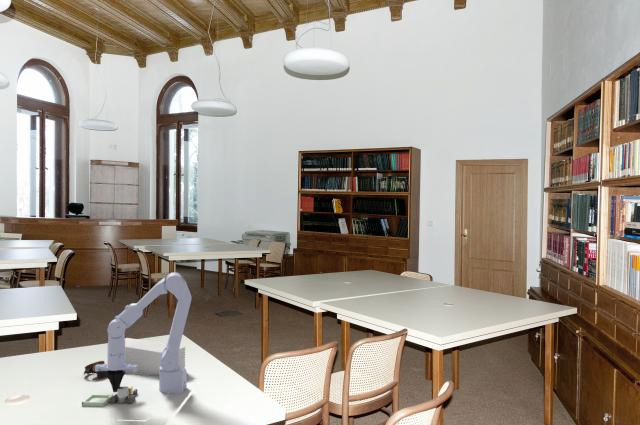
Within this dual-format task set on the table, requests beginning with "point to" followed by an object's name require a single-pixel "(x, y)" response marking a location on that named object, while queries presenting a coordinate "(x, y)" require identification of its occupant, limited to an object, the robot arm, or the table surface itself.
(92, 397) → the tray
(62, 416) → the table surface
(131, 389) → the tan rectangular block
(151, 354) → the long grey box
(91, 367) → the brown piece
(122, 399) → the shiny metal cylinder
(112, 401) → the board
